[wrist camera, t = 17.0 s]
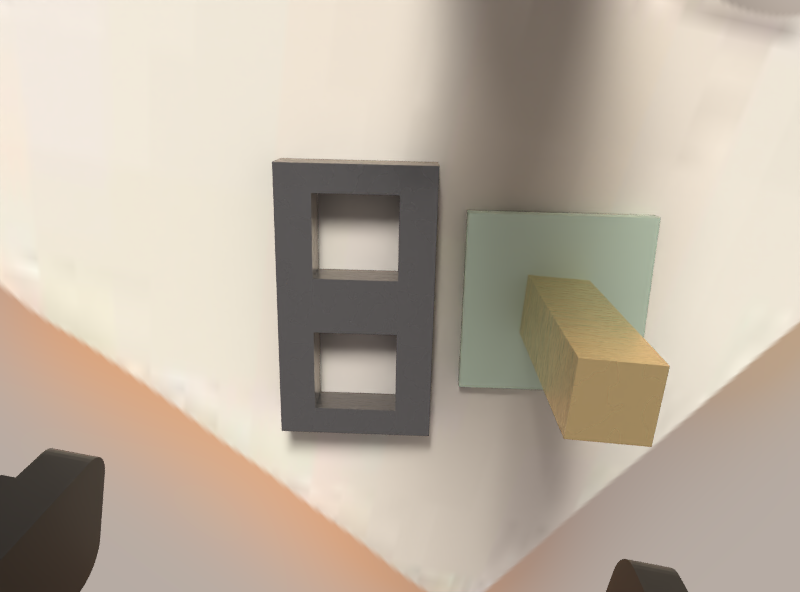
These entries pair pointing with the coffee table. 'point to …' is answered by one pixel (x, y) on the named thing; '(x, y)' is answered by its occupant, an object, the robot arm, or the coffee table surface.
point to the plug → (591, 363)
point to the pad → (552, 257)
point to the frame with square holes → (354, 295)
